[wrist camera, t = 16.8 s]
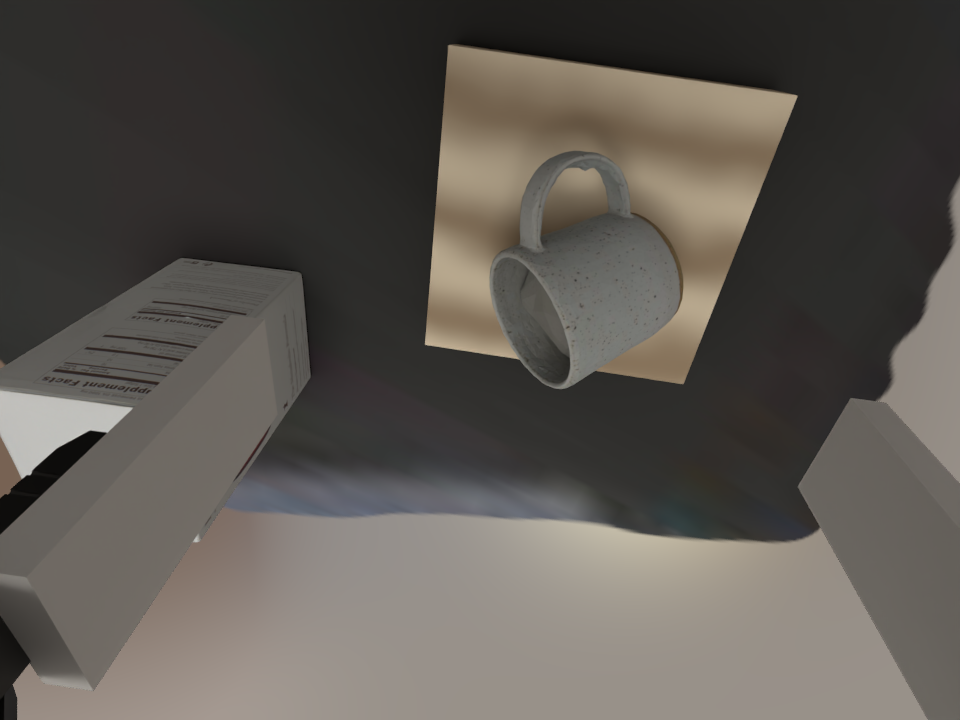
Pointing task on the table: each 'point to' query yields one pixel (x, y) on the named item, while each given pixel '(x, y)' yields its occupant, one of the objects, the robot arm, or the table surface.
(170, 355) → the supplement box
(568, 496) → the table surface
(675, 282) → the ceramic mug
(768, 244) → the table surface
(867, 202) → the table surface
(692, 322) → the square wooden tile
